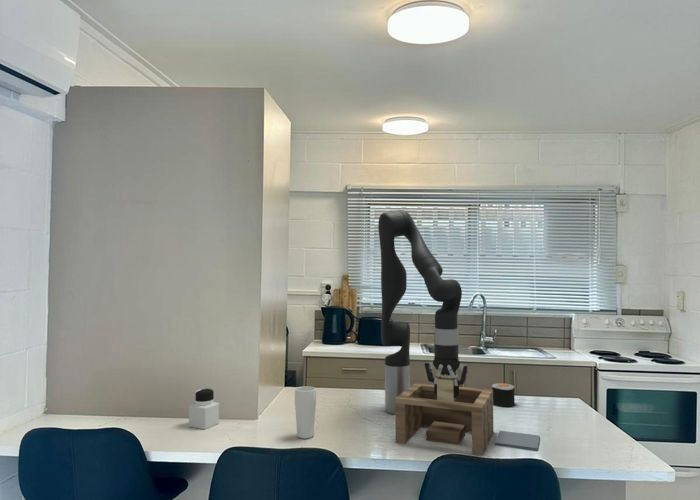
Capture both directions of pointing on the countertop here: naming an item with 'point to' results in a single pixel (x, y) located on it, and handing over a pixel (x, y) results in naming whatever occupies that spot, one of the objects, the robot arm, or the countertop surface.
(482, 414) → the frame
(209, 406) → the medicine bottle
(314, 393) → the drinking glass
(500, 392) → the sushi
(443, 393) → the maple block
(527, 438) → the grey mat
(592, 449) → the countertop surface
